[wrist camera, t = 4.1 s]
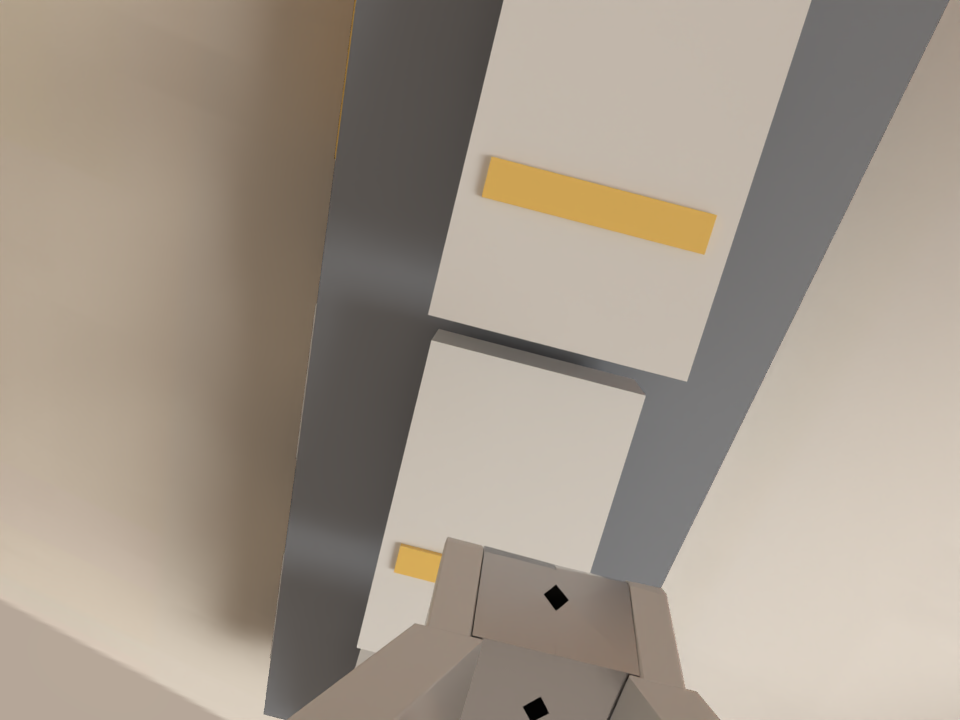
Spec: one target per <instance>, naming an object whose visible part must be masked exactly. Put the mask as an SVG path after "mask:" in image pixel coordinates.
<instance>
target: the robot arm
mask: <svg viewBox="0 0 960 720" xmlns="http://www.w3.org/2000/svg"><path fill="white" fill-rule="evenodd" d="M287 720H720V719H719V718H718V716H717V715H716V714H715V713H714V712H713V710H712V709H711V708H710V707H709V706H708V704H707V703H706V702H705V701H704V700H703V698H702V697H701V696H700V695H699V694H698V692H696V691H692V690H688V689H685V684H684V679H683V674H682V669H681V664H680V659H679V654H678V649H677V644H676V639H675V634H674V629H673V624H672V619H671V614H670V609H669V604H668V599H667V594H666V593H665V592H664V590H663V589H662V588H658V587H653V586H649V585H644V584H640V583H635V582H630V581H625V582H624V581H622V580H618V579H613V578H609V577H605V576H601V575H596V574H592V573H588V572H584V571H579V570H575V569H571V568H567V567H563V566H558V565H555V564H551V563H548V562H544V561H540V560H536V559H533V558H529V557H525V556H521V555H518V554H514V553H510V552H506V551H503V550H499V549H495V548H491V547H488V546H484V548H483V547H482V545H478V544H474V543H470V542H467V541H463V540H459V539H455V538H451V537H447V539H446V542H445V545H444V549H443V553H442V557H441V561H440V565H439V569H438V573H437V577H436V581H435V585H434V589H433V593H432V597H431V601H430V605H429V609H428V613H427V617H426V621H425V625H421V624H416V623H414V624H413V625H412V626H411V627H409V628H408V629H407V630H405V631H404V632H403V633H401V634H400V635H399V636H397V637H396V638H395V639H393V640H392V641H391V642H389V643H388V644H387V645H385V646H384V647H383V648H381V649H380V650H379V651H377V652H376V653H375V654H373V655H372V656H371V657H369V658H368V659H367V660H365V661H364V662H363V663H361V664H360V665H359V666H357V667H356V668H355V669H353V670H352V671H351V672H349V673H348V674H347V675H345V676H344V677H343V678H342V679H340V680H339V681H338V682H336V683H335V684H334V685H332V686H331V687H330V688H328V689H327V690H326V691H324V692H323V693H322V694H320V695H319V696H318V697H316V698H315V699H314V700H312V701H311V702H310V703H308V704H307V705H306V706H304V707H303V708H302V709H300V710H299V711H298V712H296V713H295V714H294V715H292V716H291V717H290V718H288V719H287Z"/></svg>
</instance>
